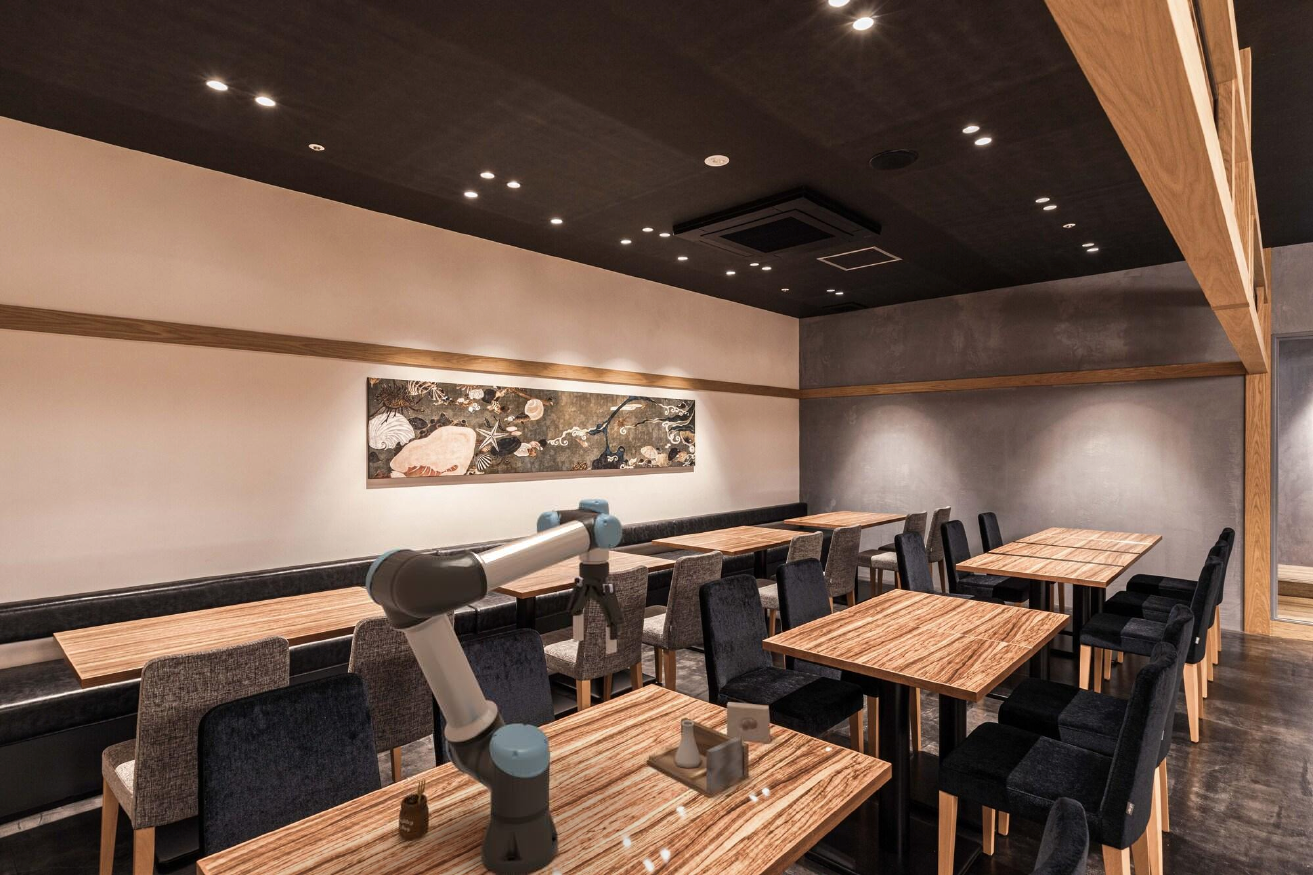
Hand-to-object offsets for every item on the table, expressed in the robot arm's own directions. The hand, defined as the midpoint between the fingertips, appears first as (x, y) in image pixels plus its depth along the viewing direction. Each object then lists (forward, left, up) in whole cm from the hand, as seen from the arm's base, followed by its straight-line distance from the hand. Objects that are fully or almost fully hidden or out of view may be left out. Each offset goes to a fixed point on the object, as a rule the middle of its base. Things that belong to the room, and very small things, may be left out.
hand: (594, 646), depth 163 cm
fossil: (+44, -13, -32) cm, 56 cm away
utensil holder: (-43, +6, -32) cm, 54 cm away
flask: (+20, -13, -31) cm, 39 cm away
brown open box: (+20, -16, -32) cm, 41 cm away
